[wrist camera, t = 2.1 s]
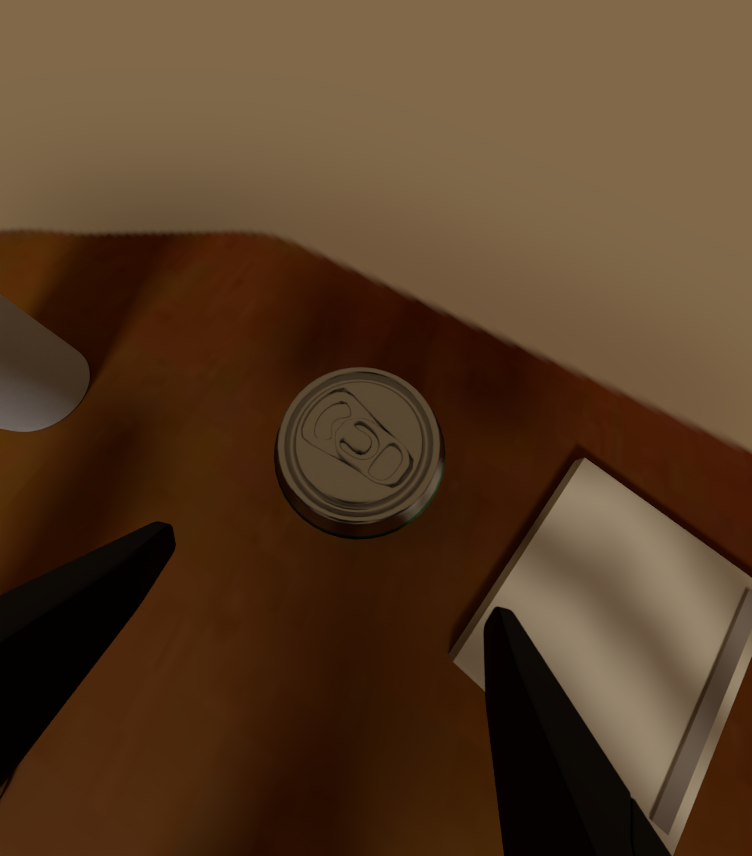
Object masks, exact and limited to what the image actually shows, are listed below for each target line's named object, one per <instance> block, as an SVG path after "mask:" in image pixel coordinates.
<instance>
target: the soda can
mask: <svg viewBox="0 0 752 856" xmlns="http://www.w3.org/2000/svg"><path fill="white" fill-rule="evenodd" d="M274 463H275V472H276V476H277V479H278V483H279V486H280V488H281V490H282V492H283V494H284V497H285V498H286V500H287V501H288V503H289V504H290V506H291V507H292V508H293V510H294V511H295V512H296V513H297V514H298V515H299V516H300V517H301V518H302V519H303V520H305V521H306V522H308V523H309V524H310V525H312V526H313V527H315V528H317V529H319V530H321V531H323V532H325V533H327V534H330V535H333V536H337V537H340V538H347V539H355V540H356V539H372V538H376V537H381V536H385V535H388V534H390V533H393V532H395V531H398V530H399V529H401V528H403V527H404V526H406V525H408V524H409V523H411V522H412V521H413V520H414V519H415V518H417V517H418V516H419V515H420V514H421V513H422V512H423V511H424V509H425V508H426V507H427V506H428V505H429V504H430V502H431V500H432V499H433V497H434V495H435V494H436V492H437V490H438V487H439V485H440V482H441V480H442V475H443V471H444V466H445V446H444V439H443V435H442V431H441V428H440V425H439V423H438V421H437V419H436V416H435V415H434V413H433V412H432V410H431V408H430V407H429V405H428V404H427V402H426V400H425V399H424V398H423V397H422V395H421V394H420V393H419V392H418V391H417V390H416V389H415V388H414V387H413V386H411V385H410V384H409V383H408V382H406V381H405V380H403V379H401V378H400V377H398V376H396V375H394V374H391V373H389V372H386V371H383V370H379V369H375V368H367V367H351V368H345V369H339V370H336V371H333V372H330V373H327V374H325V375H323V376H321V377H319V378H317V379H316V380H314V381H313V382H311V383H310V384H308V385H307V386H306V387H305V388H304V389H303V390H302V391H300V392H299V393H298V395H297V396H296V397H295V398H294V400H293V401H292V402H291V404H290V405H289V407H288V409H287V411H286V412H285V414H284V417H283V420H282V422H281V425H280V428H279V430H278V433H277V438H276V442H275V450H274Z"/></svg>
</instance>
